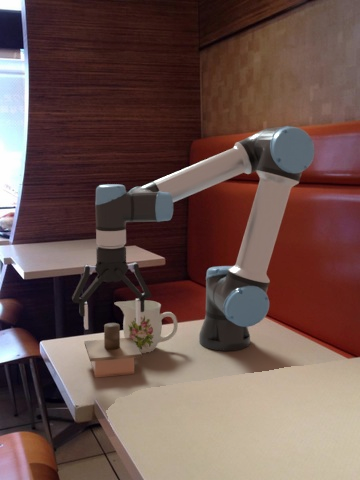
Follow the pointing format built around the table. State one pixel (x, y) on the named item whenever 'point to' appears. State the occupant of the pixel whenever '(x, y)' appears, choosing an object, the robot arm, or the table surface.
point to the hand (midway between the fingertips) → (112, 326)
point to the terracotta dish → (113, 367)
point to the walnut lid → (112, 345)
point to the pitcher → (145, 324)
